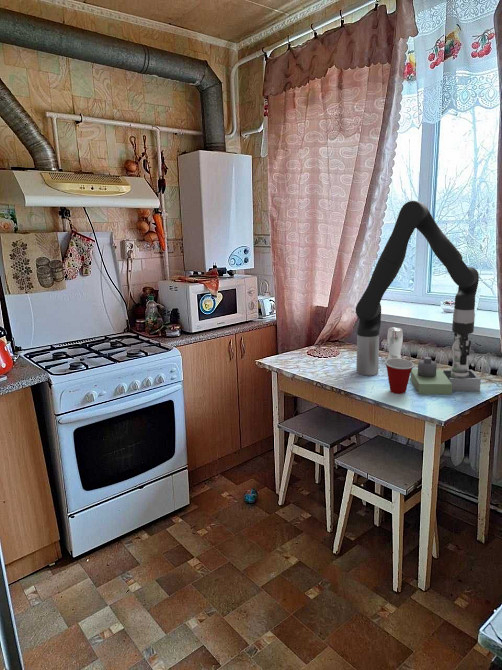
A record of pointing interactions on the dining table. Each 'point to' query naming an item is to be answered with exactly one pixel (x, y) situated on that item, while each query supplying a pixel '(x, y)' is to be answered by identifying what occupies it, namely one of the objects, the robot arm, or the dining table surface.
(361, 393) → the dining table surface
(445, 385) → the green base with knob
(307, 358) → the dining table surface
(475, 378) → the grey open box
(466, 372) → the plastic bottle
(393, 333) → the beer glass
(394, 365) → the plastic cup
